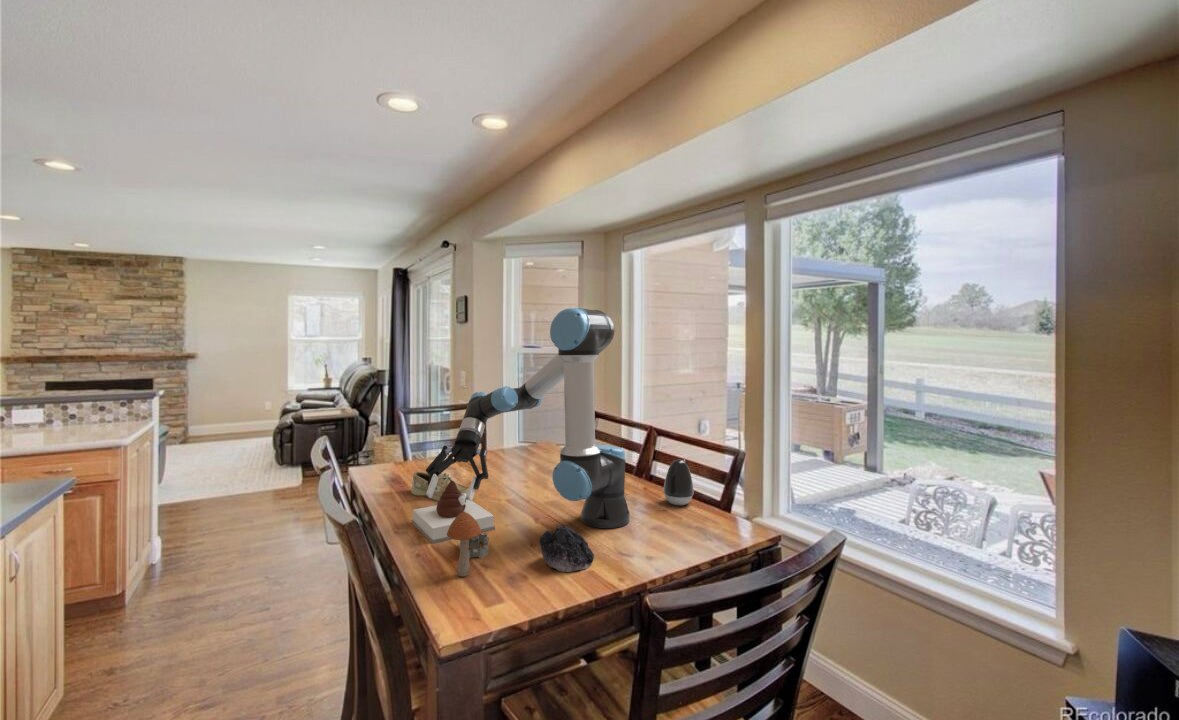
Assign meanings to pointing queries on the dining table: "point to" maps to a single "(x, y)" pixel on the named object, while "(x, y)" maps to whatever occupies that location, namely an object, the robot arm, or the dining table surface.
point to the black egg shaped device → (678, 483)
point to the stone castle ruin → (475, 545)
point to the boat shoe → (422, 486)
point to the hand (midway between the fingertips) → (449, 497)
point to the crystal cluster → (565, 550)
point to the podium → (448, 521)
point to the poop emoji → (451, 501)
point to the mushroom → (463, 538)
